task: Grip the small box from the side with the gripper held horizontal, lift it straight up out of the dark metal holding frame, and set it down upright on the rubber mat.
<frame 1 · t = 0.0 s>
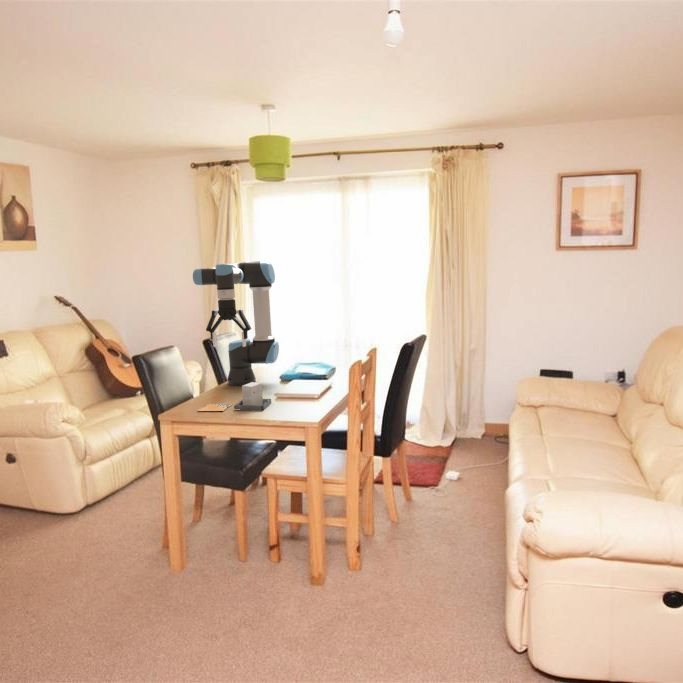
hand: (229, 346, 257), 28 cm above the table, tool pointing down, fingers open, 13 cm apart
small box: (253, 407, 261), resting in holding frame
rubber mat: (215, 408, 260), on the table
holding frame: (253, 406, 261), on the table
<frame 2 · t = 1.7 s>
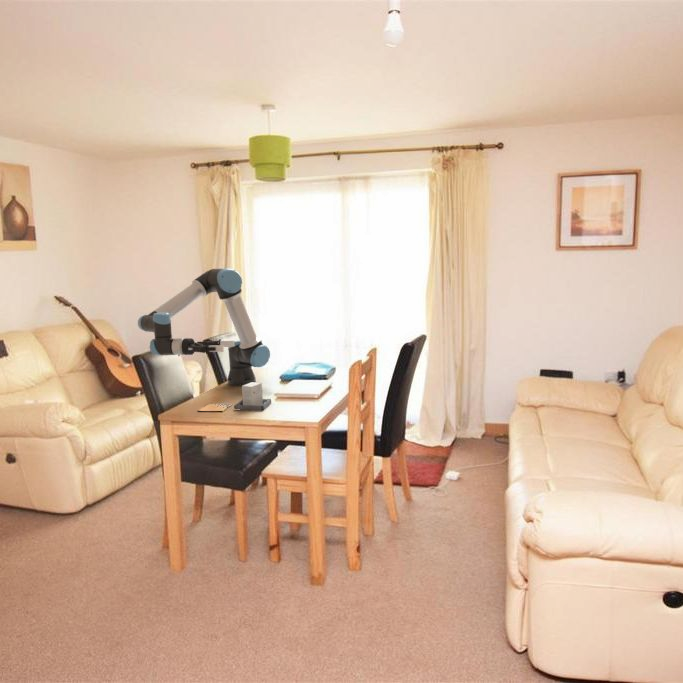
hand: (228, 346, 258), 28 cm above the table, tool horizontal, fingers open, 13 cm apart
nothing on the table moved.
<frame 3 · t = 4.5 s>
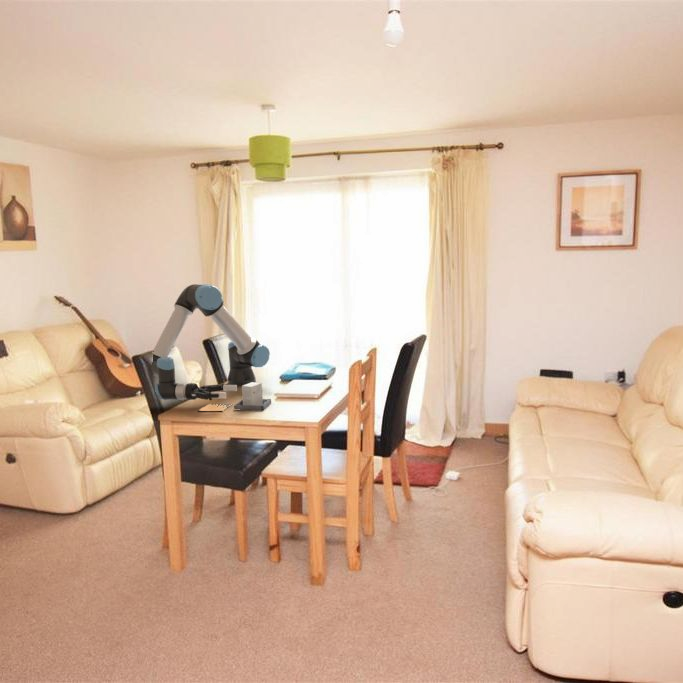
hand: (231, 391, 261), 7 cm above the table, tool horizontal, fingers open, 13 cm apart
nothing on the table moved.
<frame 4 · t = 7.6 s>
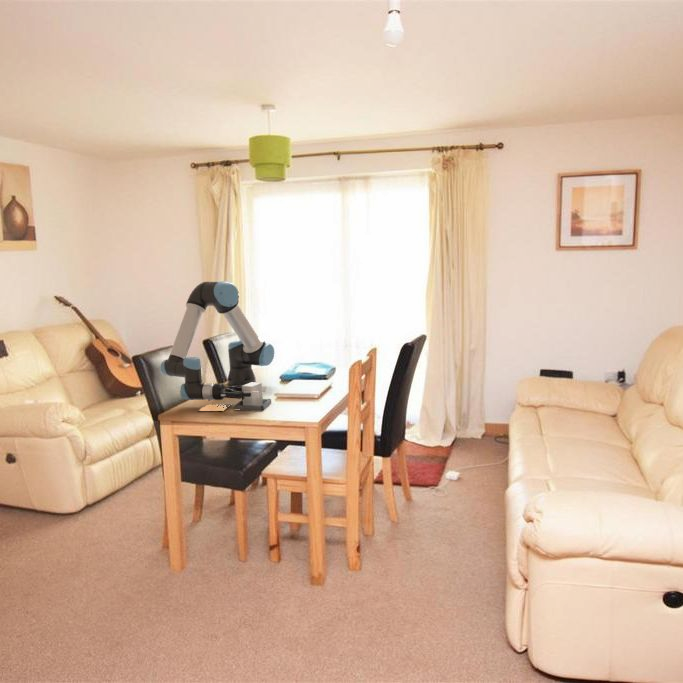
hand: (261, 391, 259), 7 cm above the table, tool horizontal, fingers closed on small box, 9 cm apart
small box: (253, 407, 261), resting in holding frame, touching gripper
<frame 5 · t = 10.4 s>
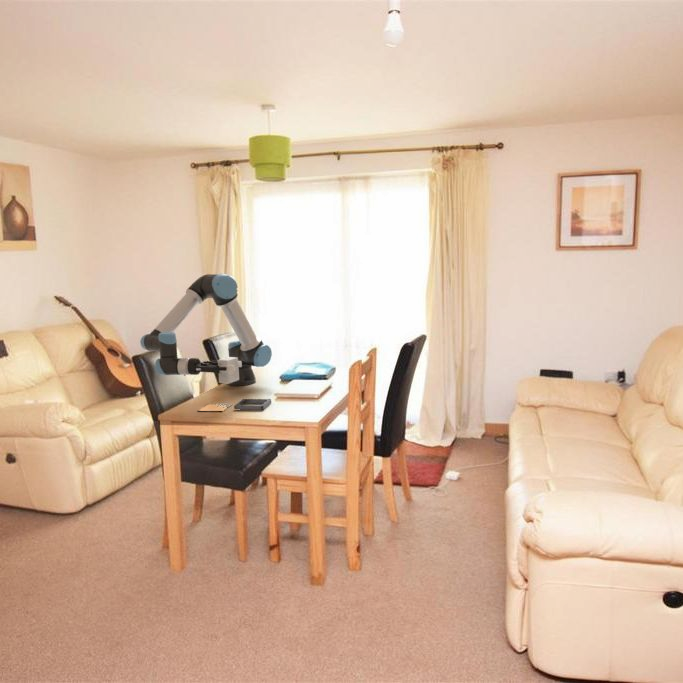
hand: (237, 366, 256), 19 cm above the table, tool horizontal, fingers closed on small box, 9 cm apart
small box: (229, 381, 258), point 12 cm above the table, touching gripper
when the fingers open (9 cm above the table, at t = 13.3 s): small box drops 1 cm, resting on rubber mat.
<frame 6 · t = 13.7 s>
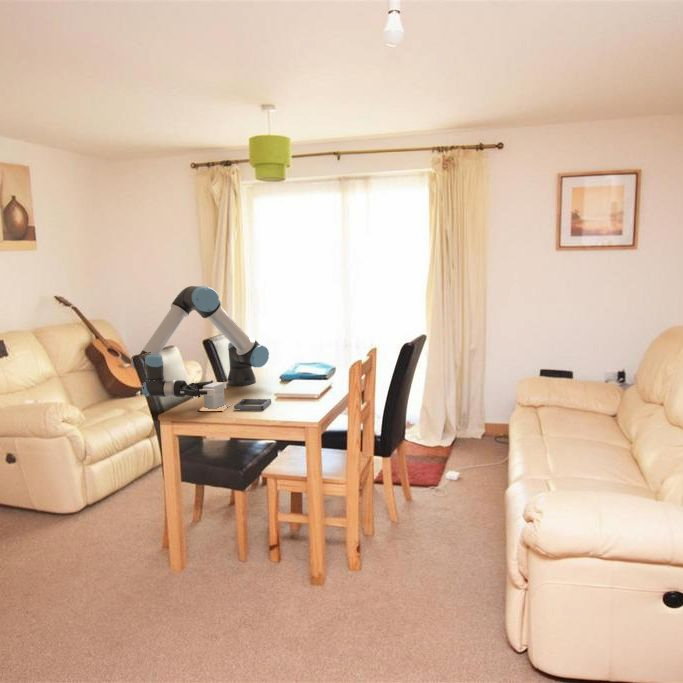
hand: (220, 388, 259), 9 cm above the table, tool horizontal, fingers open, 13 cm apart
small box: (214, 407, 260), resting on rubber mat
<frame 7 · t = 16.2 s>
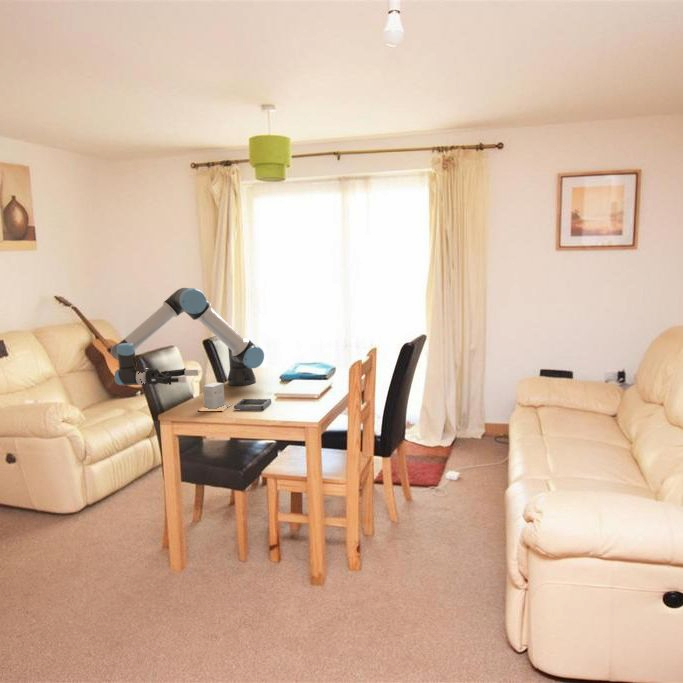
hand: (192, 375, 261), 15 cm above the table, tool horizontal, fingers open, 13 cm apart
nothing on the table moved.
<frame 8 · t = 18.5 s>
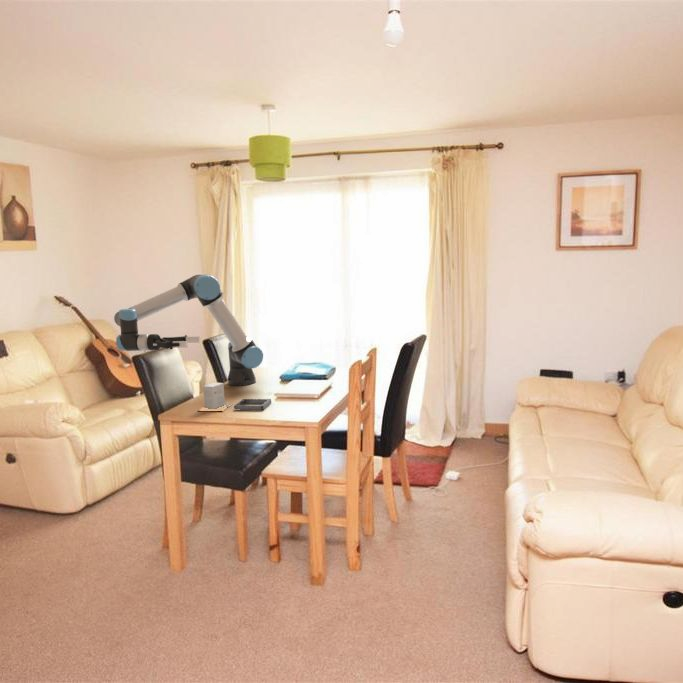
hand: (193, 341, 261), 30 cm above the table, tool horizontal, fingers open, 13 cm apart
nothing on the table moved.
at the end: small box inside the target area (0.1 cm from its centre), resting on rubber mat; small box tilted 0°; the gripper is holding nothing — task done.
